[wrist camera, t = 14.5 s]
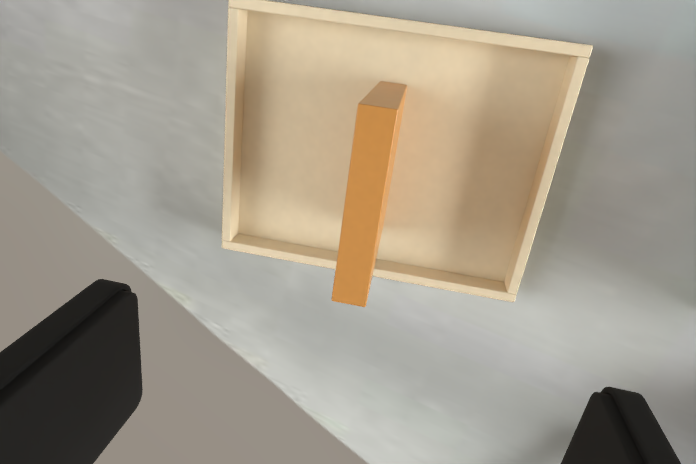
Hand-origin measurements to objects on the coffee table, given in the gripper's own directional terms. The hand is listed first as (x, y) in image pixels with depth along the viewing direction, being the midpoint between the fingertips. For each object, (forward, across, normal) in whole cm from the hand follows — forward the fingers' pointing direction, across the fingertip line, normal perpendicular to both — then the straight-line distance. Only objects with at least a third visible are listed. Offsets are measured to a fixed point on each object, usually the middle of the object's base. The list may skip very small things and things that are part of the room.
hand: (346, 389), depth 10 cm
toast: (+21, +1, +1) cm, 21 cm away
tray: (+22, +1, +1) cm, 22 cm away
